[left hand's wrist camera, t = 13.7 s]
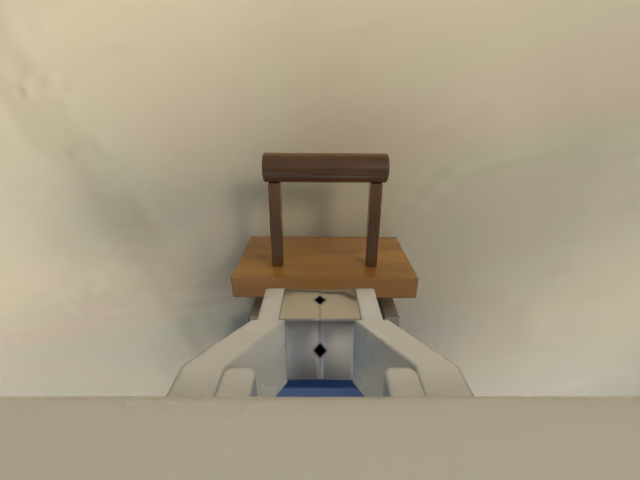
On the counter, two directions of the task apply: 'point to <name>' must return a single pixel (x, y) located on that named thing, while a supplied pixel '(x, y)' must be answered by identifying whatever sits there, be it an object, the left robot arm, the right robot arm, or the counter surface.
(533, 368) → the counter surface
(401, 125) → the counter surface
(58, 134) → the counter surface
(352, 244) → the wooden drawer
